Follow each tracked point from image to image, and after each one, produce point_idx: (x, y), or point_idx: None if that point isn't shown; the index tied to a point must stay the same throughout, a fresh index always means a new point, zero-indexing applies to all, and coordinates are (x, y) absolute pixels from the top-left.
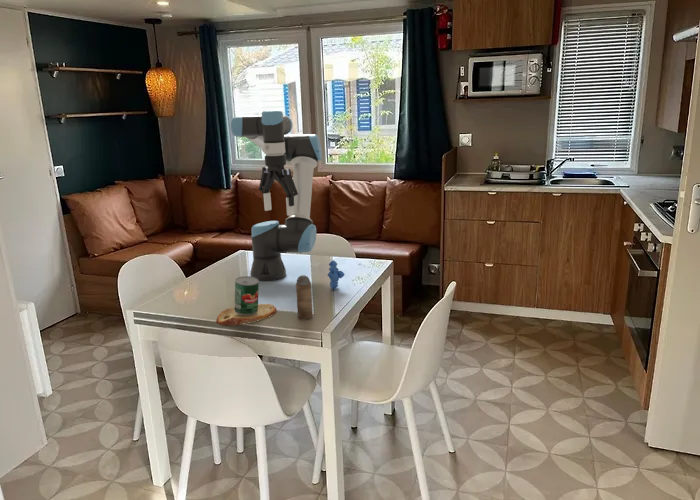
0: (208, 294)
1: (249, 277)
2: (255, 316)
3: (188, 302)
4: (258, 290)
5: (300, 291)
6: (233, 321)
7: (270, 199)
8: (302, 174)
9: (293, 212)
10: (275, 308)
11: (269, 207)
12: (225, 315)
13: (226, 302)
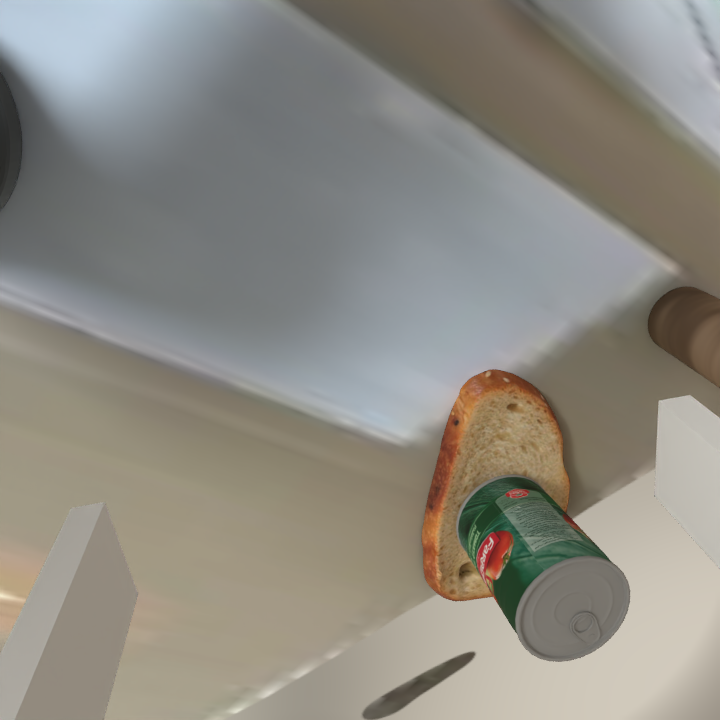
0: None
1: (535, 585)
2: (557, 496)
3: (149, 616)
4: (581, 533)
5: None
6: None
7: (48, 647)
8: None
9: (706, 420)
10: (526, 389)
11: (103, 564)
12: (457, 576)
13: (256, 500)
